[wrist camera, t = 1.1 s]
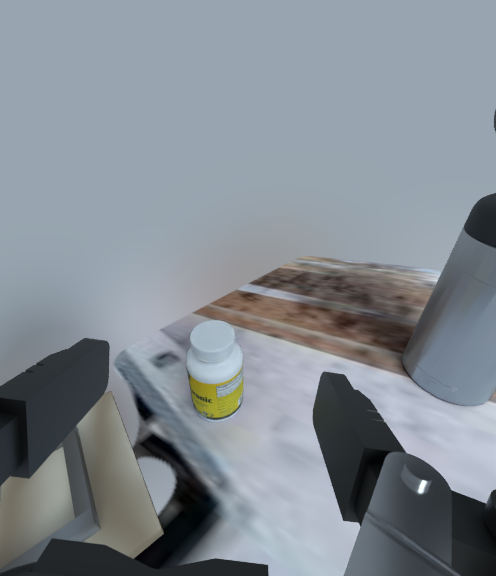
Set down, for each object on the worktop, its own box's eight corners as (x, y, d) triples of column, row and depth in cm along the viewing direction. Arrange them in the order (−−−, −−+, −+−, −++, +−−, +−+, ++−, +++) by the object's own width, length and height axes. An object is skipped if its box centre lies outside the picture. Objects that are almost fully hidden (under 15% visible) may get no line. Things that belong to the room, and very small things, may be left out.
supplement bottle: (184, 394, 30) (172, 327, 24) (226, 371, 32) (224, 307, 27) (207, 435, 26) (198, 367, 20) (253, 406, 28) (255, 339, 23)
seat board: (113, 397, 29) (106, 381, 28) (163, 533, 20) (157, 520, 18) (-101, 505, 21) (-128, 491, 20) (-186, 820, 12) (-248, 839, 10)
